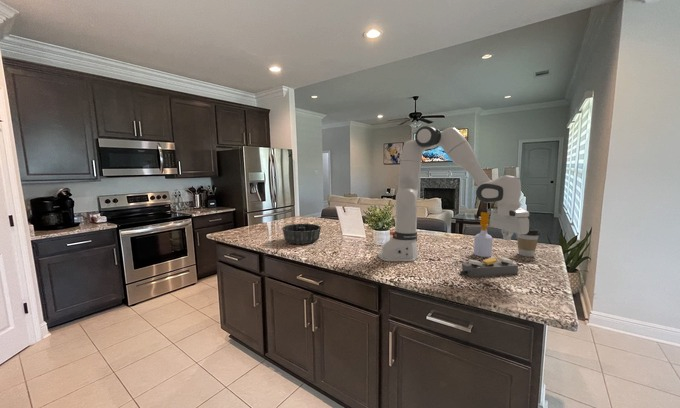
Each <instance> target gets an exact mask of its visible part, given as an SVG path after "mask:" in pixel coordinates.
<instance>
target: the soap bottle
mask: <svg viewBox="0 0 680 408" xmlns="http://www.w3.org/2000/svg"><path fill="white" fill-rule="evenodd" d="M489 222H490V212H483V211H481V212H480V222H479V223H480V226H481V227H482V228H480V232H479V233H477V234H475V236H474V244H473V254H474V255H475V256H478V257H482V258H489V257H490V258H491V256H492V254H493V253H492V251H493V237H492V235H490V234H488V229H487V227H488V226H489Z"/></svg>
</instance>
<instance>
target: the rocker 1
mask: <svg viewBox="0 0 680 408" xmlns="http://www.w3.org/2000/svg"><path fill="white" fill-rule="evenodd" d="M467 262H468V263H472V264H476V265H482V264H483V263H482V262H483V261H482V262H481V261H479V260H475V259H468V261H467Z"/></svg>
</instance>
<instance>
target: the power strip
mask: <svg viewBox="0 0 680 408" xmlns="http://www.w3.org/2000/svg"><path fill="white" fill-rule="evenodd" d="M482 263H483V261H482ZM518 272H519V265H518V264H516V263H514V262H513V263H508V262H503V261H500V260H497V262H496V263H493V264H490V265H486V264H484V263H483V264H482V265H476V264H472V263H470V262H468V263H462V265H461V270H460V271H459V274H461V275H464V274H465V275H466V276H468V277H470V278H482V277H483V278H484V277H494V276H506V275H508V276H509V275H516V274H519V273H518Z"/></svg>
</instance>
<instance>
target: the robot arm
mask: <svg viewBox="0 0 680 408" xmlns="http://www.w3.org/2000/svg"><path fill="white" fill-rule="evenodd" d="M439 147H440V148H441V149H443V151H444V152H445V154H446V155H447V156H448V158H449V159H450V160H451V161H452V162H453V163H454V164H455V165H456V166H458V167H459V168H462V169H463V170H465V171H466V173H468V174H469V175H470V177H471V179H472V180H473V181H474V182H475V183H476V185H477V188H476V191H475V195H476V198H477V199H478V200H479V201H480V202H482V203H484V204H489V203H494V202H496V203H497V208H496V207H495V208H493V209H492V210H491V214H490V216H489V226H490V227H491V228H494V229H495V228H496V229H499V230H500V232H501V234H502V239H503V240H505V241H511V240H512V236H513V235H514V234H516V235H517V234H527V233H528V232H529V228H530V219H529V218H528V217H530V212H529V211H528V210H526V209H524V207H521V200H520V199H521V194H522V182H521V180H520V178H519V177H517V176H513V175H508V174H507V175H506V174H503V175H501V176H499V177H496V178H495V179H493V180H492V179H491V178H490V177H489V176H488V174H487V173H486V172H485V170H484V169H483V168H482V166H481V165H480V163H479V161H478V159H477V157H476V154H475V152H474V150H473V147H472V146H471V145H470V143H469V141H468V140H467V139H466V137H465V136H464V135H463V134H462V132H460V131H459V130H458V129H457V128H456V127H453V126H452V127H447V128H445V129H444V130H440V129H438V128H435V127H433V126H431V125H423V126H421V127H419V128H418V129H417V130H416V132H415V134H414V139H410V140H407V141H405V142H404V143H403V147H402V150H401V154H400V162H399V172H398V173H399V174H398V187H397V192H396V195H395V216H396V218H395V219H396V220H395V231H392V230H390V232H389V235H391V236H392V237H391V238H390V239H389V240H388V241H387V242H385V243H383V245H382V248H381V251H380V252H378V253H377V257H378V258H379V259H381V260H382V261H385V262H415V261H416V260H417V259H419V253H418V252H419V251H418V246H417V245H418V243H417V241H418V231H417V226H418V225H417V223H418V216H417V214H418V195H419V194H418V193H419V186H420V179H421V170H422V169H421V168H422V161H423V160H422V159H423V155H424V152H428V151H431V150H436V149H437V148H439Z"/></svg>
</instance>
